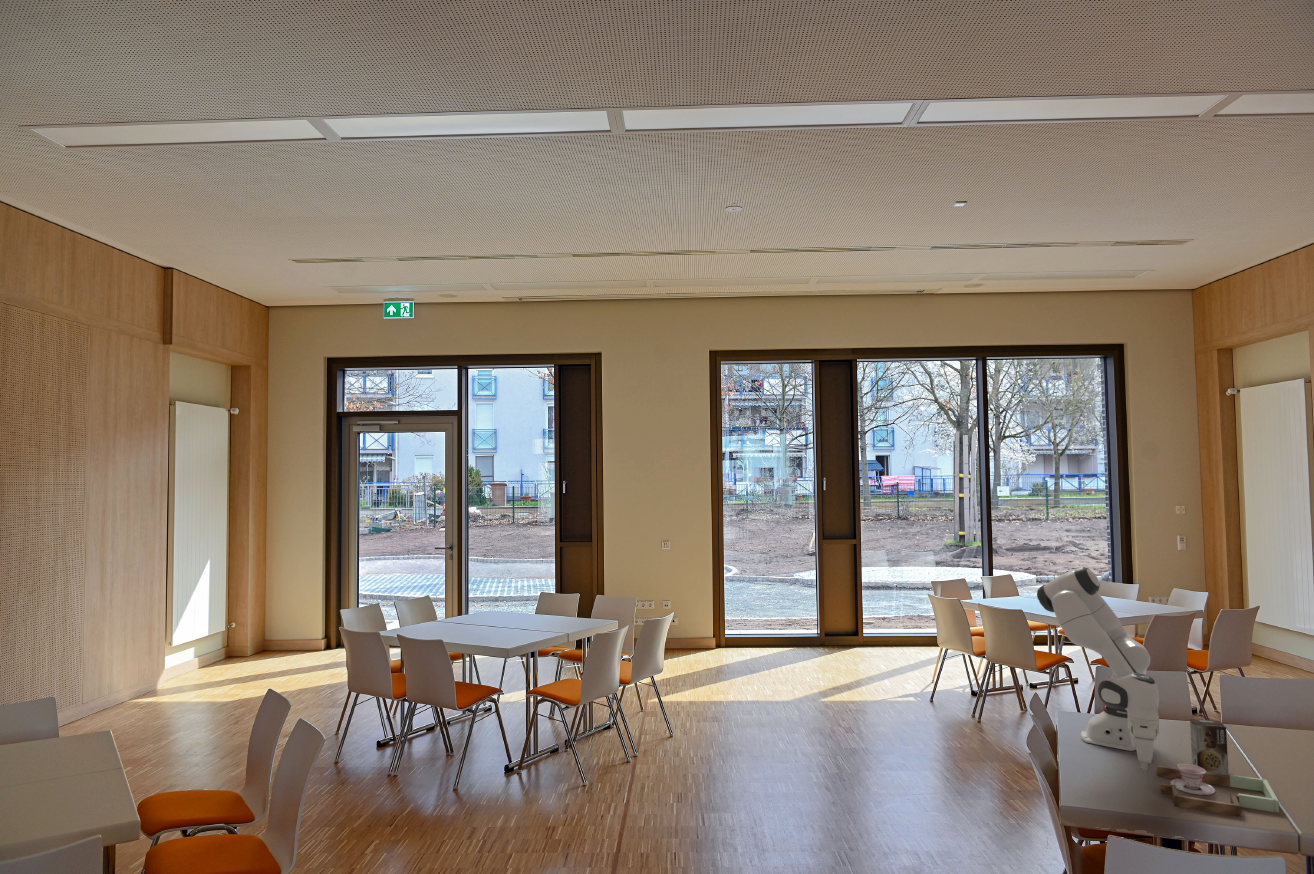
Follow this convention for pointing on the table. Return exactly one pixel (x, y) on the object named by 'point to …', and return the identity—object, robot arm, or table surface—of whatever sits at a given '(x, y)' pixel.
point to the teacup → (1192, 780)
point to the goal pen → (1255, 801)
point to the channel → (1199, 803)
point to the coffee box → (1209, 746)
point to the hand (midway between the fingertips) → (1144, 767)
